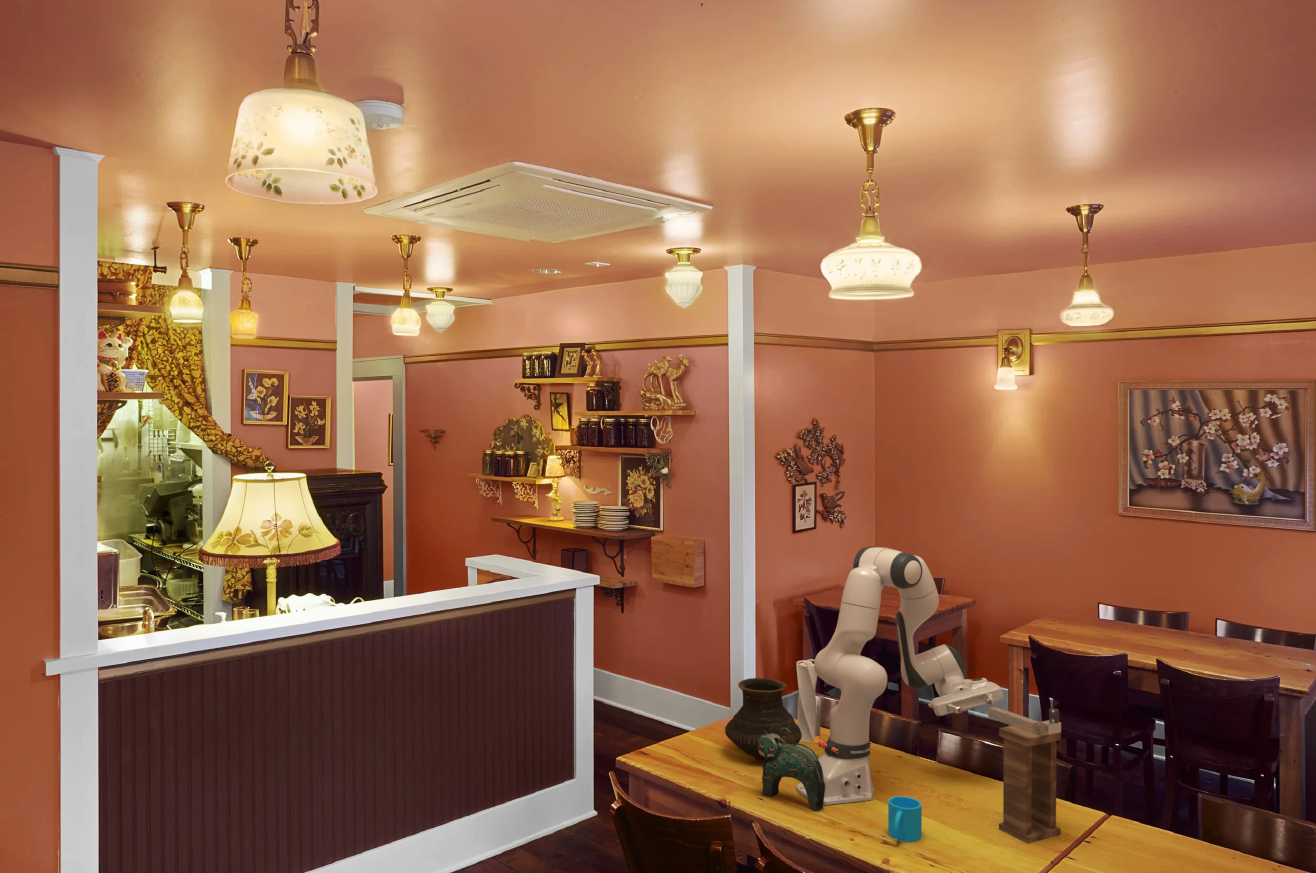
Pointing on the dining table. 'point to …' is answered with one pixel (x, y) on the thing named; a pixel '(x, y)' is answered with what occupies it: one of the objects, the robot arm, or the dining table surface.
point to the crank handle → (1028, 721)
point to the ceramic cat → (791, 767)
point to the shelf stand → (1029, 785)
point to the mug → (904, 819)
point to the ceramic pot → (761, 716)
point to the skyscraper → (807, 701)
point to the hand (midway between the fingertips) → (974, 706)
